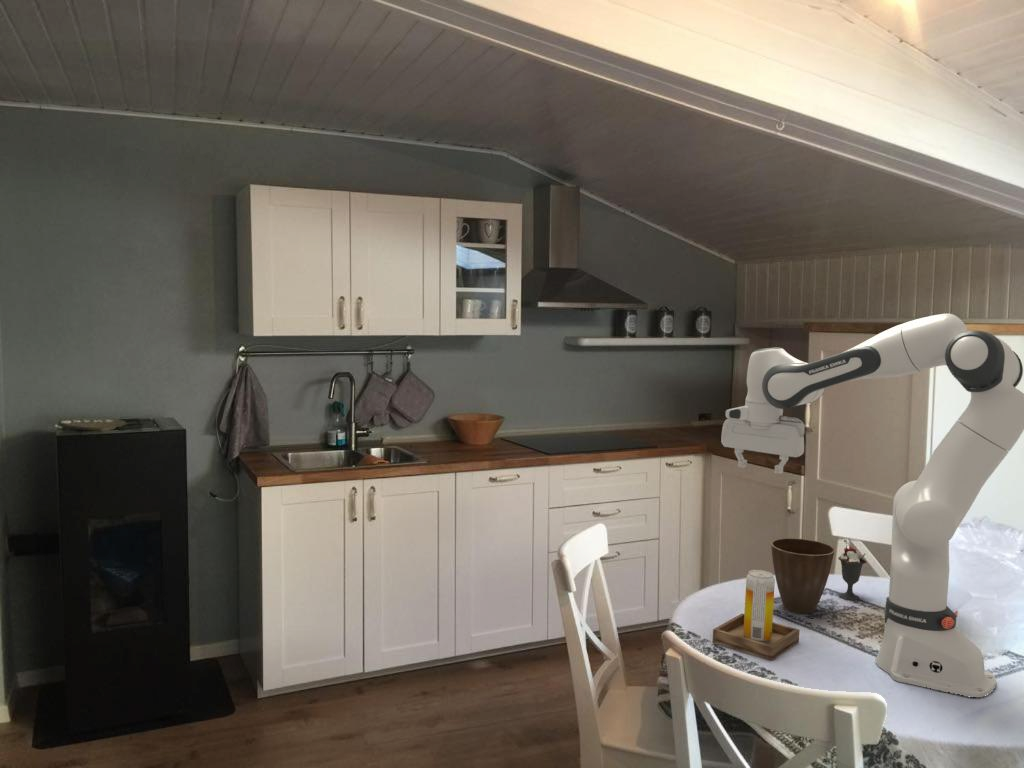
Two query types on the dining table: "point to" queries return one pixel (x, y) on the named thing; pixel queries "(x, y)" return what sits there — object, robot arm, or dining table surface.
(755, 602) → the beer can
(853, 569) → the sundae
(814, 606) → the plant pot
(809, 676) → the dining table surface
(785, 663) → the dining table surface
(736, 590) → the dining table surface
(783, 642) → the walnut tray
